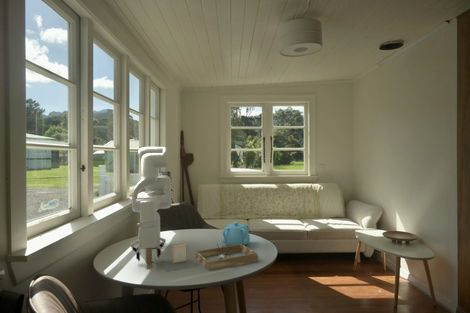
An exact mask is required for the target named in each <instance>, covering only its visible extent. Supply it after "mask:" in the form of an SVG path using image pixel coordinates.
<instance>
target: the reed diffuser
mask: <svg viewBox="0 0 470 313" xmlns="http://www.w3.org/2000/svg"><path fill="white" fill-rule="evenodd" d="M216 245H217V248H219V247H220V246H219V245H218V243H216ZM221 247H222V254H221V253H220V254H221V255H219V256H217V257H216V260H221V259H227V256H226V255H228V254H227V253H228V252H229V251H230V250H229V251H228V252H227V253H226V254H225V255H224V254H223V247H224V245H222V244H221ZM219 251H220V250H219Z"/></svg>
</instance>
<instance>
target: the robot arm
mask: <svg viewBox="0 0 470 313" xmlns="http://www.w3.org/2000/svg"><path fill="white" fill-rule="evenodd" d="M138 157H139V160H140V162H141V167H140V168H141V170H140V180H139V181H138V182H137V183H136V185H135V186H134V187H133V190H132V192H131V193H132V194H131V210H132V212H134V213H139V222H138V223H136V226H137V227H138V232H137V239H136V240H135V241H133V242H131V243H130V244H129V245H130V247H131V249H132V251H134V252H135V258H136V260H137V261H138V262H139V261H141V253H140V251H141V250H145V249H146V248H152V249H156V257H157V258H160V256H161V253H162V251H161V249H162V248H163V247H164V245H165V243H166V242H167V241H166V239H165V238H162V237H161V216H160V213H159V212H157V211H158V210H163V209H169V208H171V206H172V203H173V202H172V199H173V198H172V180H171V178H170V176H169V175H166V174H165V175H162V174H161V175H160V174H159V168H167V167H168V164H169V148H168V147H167V146H143V147H140V148H139V149H138ZM142 189H144V190H145V191H147V192H151V193H146V194H144V195H143V196H142V197H138V196H139V192H140V191H142ZM153 192H154V193H153ZM155 192H156V193H155ZM157 192H158V193H157ZM136 244H137V247H135V245H136Z"/></svg>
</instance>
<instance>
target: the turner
mask: <svg viewBox="0 0 470 313" xmlns="http://www.w3.org/2000/svg"><path fill="white" fill-rule="evenodd" d="M144 252H145V254H144V255H145V258H144V259H145V263H144V265H143V266H144V267H145V269H146V270H148V271H149V270H153V269H158V266H157V264H156V263H155V262H153V248H146V249H144Z"/></svg>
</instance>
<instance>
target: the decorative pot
mask: <svg viewBox="0 0 470 313" xmlns="http://www.w3.org/2000/svg"><path fill="white" fill-rule="evenodd" d="M249 231H250V226H249V225H247V224H241V223H239V222H238V221H234V222H233V223H231V224H230V223H229V224H226V226H225V227H224V228H223V230H222V240H221V241H222V242H221V243H223V244H225V245H226V246H231V245H237V244H242V245H244V246H245V245H246V246H247V245H249V243H250V240H251V235H250V233H249Z"/></svg>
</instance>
